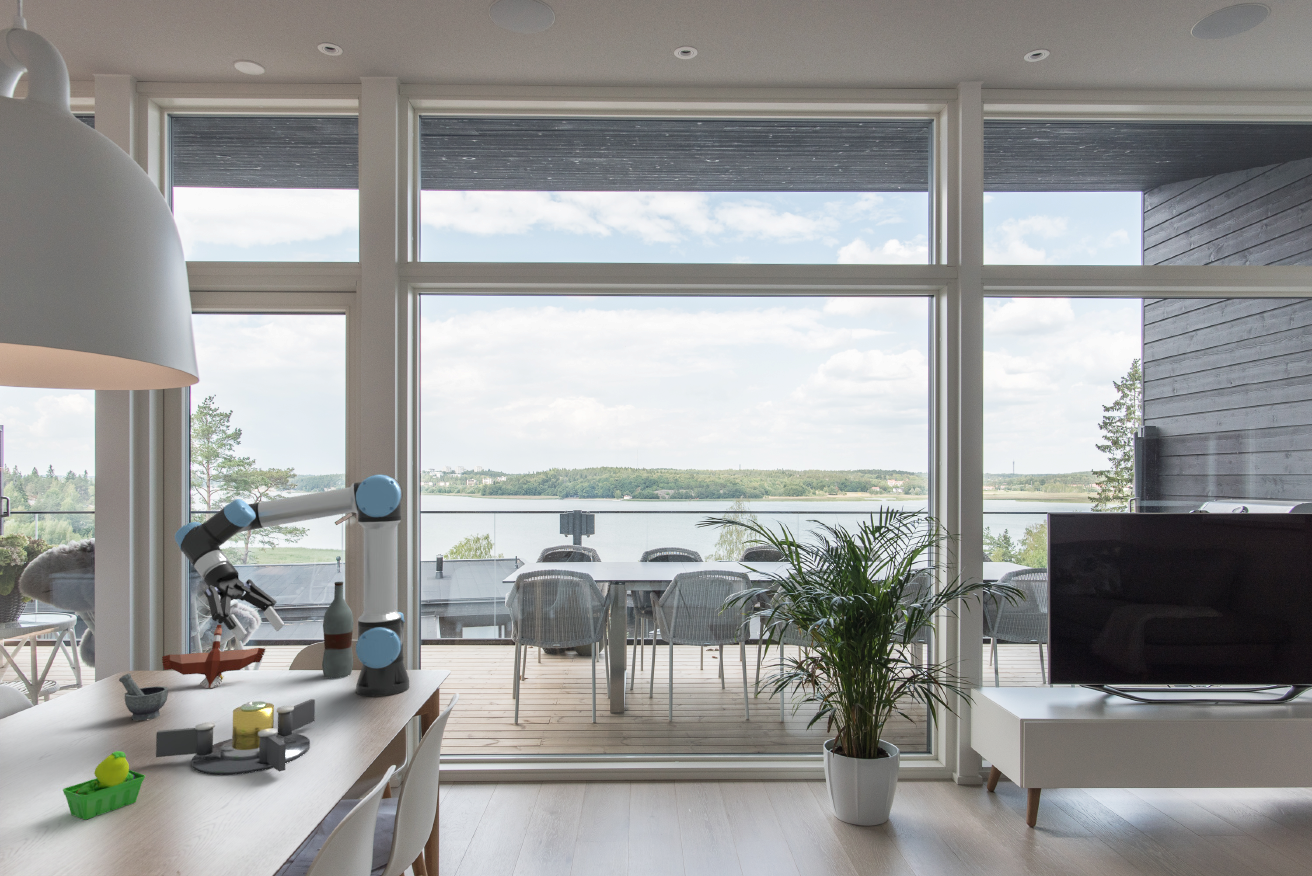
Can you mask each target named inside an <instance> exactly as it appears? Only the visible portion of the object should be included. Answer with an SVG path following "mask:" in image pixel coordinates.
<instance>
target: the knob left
mask: <svg viewBox="0 0 1312 876" xmlns="http://www.w3.org/2000/svg"><path fill="white" fill-rule="evenodd" d="M277 732H278V728H269V729H264V730H261V731H259V732H258V736H260V741H259V762H261V763H267V762H268V763H269V764H270V765H271V766H273V768H274V769H275V770H277V771H278V772H283V771H286V764H285V755H286V744H285V743H284V742H282V741H281V740H279V739H278V738H277V737H276V734H277Z"/></svg>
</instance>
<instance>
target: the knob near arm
mask: <svg viewBox="0 0 1312 876" xmlns="http://www.w3.org/2000/svg"><path fill="white" fill-rule="evenodd" d="M315 708H316V699H315V698H314V699H313V698H311V699H307V700H306V701H303V702H300V703H298V704H295V705H283V706H279V707H277V708H276V713H277V732H278V735H281V736H288V735H291V734H292V733H293V732H294V731H296V730H298V729H301V728H303V727H305V726H306V725H310V724H311V723H313V722H315V719H316V718H315V717H316V716H315V713H316V711H315V710H316V709H315Z"/></svg>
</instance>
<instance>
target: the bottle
mask: <svg viewBox="0 0 1312 876" xmlns="http://www.w3.org/2000/svg"><path fill="white" fill-rule="evenodd" d="M333 584H334V593H333V594H334V597H333V600H332V601H331V603H330V604H329V607H328V608H327V610H326V611H325V613H324V616H323V622H322V631H323V641H324V642H323V644H324V645H323V646H324V647H323V648H324V651H323V656H322V662H321V663H322V664H321V666H322V673H323V677H324V678H325V679H341V678H340V677H342V678H346V677H349V676H351V675H352V672H353V666H354V656H353V649H352V642H353V639H352V638H353V631H354V622H355V621H354V615H353V611H352V609H351V608H350V606H349V605H348V603H347V602H346V600H345V599H344V581H335V582H334V583H333ZM348 675H349V676H348Z"/></svg>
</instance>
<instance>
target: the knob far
mask: <svg viewBox="0 0 1312 876" xmlns="http://www.w3.org/2000/svg"><path fill="white" fill-rule="evenodd" d="M215 727H216V723H215V722H212V721H209V722H202V723H198V724H196V725H195V726H194V727H187V728H175V729H163V730H162V729H161V730H158V731H156V734H155V735H156V738H155V740H156V742H155V758H162V757H163V758H165V757H174V756H176V757H177V756H185V755H186V756H187V755H188V756H189V755H198V756H202V755H208V754H211V753H212V752H213V745H214V728H215Z"/></svg>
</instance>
